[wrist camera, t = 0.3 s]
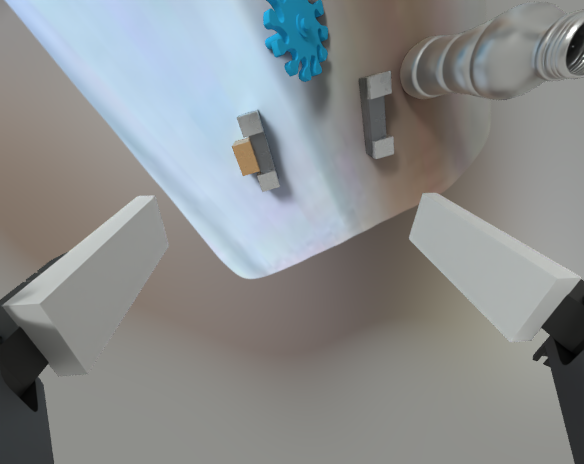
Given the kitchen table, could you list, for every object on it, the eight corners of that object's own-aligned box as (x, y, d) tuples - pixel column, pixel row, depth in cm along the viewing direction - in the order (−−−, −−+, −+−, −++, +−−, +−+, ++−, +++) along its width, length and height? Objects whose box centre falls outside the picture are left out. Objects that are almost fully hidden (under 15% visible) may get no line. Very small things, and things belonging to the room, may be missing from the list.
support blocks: (227, 119, 33) (222, 122, 29) (377, 73, 32) (391, 70, 28) (251, 186, 38) (250, 195, 34) (382, 148, 37) (394, 154, 33)
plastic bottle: (414, 109, 35) (564, 125, 17) (383, 76, 32) (520, 55, 15) (451, 65, 32) (666, 33, 15) (420, 26, 30) (634, -67, 13)
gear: (336, 80, 30) (282, 76, 24) (299, 91, 34) (245, 90, 28) (327, -38, 26) (259, -81, 20) (287, -10, 30) (219, -39, 23)
